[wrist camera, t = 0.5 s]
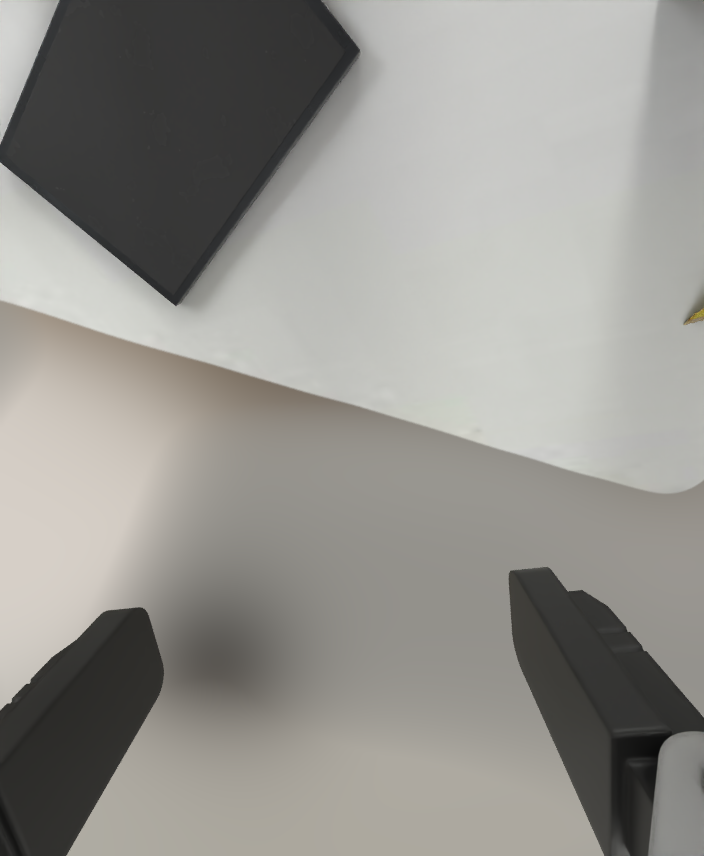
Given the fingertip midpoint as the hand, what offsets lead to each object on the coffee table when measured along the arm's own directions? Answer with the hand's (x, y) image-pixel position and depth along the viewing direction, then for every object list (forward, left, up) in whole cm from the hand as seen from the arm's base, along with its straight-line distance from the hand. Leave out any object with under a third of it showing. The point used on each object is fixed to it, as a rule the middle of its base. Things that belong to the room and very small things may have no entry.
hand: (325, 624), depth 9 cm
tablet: (-18, +1, -29) cm, 35 cm away
